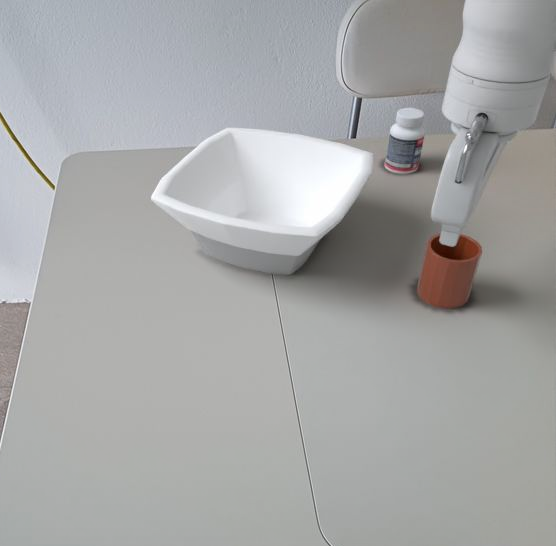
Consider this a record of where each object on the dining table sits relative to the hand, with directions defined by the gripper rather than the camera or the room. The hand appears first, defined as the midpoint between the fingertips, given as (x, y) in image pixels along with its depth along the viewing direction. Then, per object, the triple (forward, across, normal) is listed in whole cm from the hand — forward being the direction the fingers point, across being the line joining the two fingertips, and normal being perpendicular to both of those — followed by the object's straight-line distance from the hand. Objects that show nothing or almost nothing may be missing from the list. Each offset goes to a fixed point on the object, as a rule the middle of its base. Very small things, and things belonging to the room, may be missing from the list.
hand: (458, 221), depth 72 cm
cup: (+10, 0, 0) cm, 10 cm away
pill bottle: (+10, +30, +14) cm, 35 cm away
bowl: (+11, +2, +24) cm, 27 cm away
